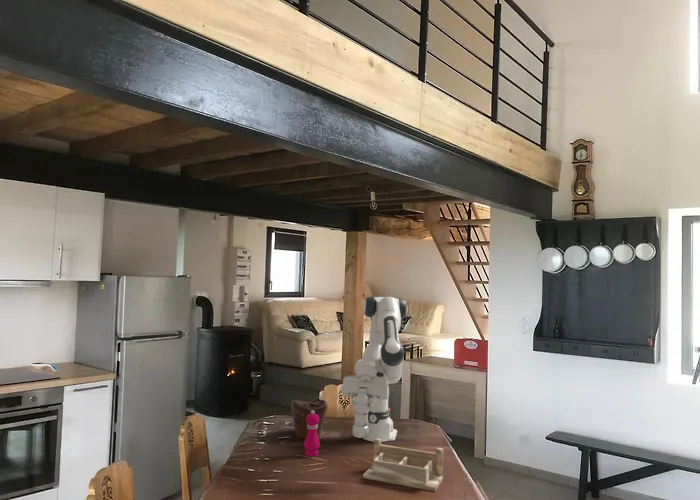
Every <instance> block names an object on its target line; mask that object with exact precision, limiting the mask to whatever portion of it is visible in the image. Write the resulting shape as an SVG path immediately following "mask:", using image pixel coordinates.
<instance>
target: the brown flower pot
mask: <svg viewBox="0 0 700 500" xmlns="http://www.w3.org/2000/svg"><path fill="white" fill-rule="evenodd" d="M290 408H291V410H290V411H291V415H292V421H293V426H294V432H295V433H294V434H295V436H296V437H298V438H303V439H306V437H307V434H308V428H307V424H308V423H307V422H306V417H307V415H309V414H311V411H312V410H314V411H315V413H314V414H317V415H318V417H319V422H318V423H317V424H318V428H317V436H318V437H320V436H321V434H322V430H323V425H324V421H325V417H326V413H327V410H328V404H327V401H326V400H325V399H320V398H317V399H315V400H309V401H307V400H305V401H303V400H295V399H292V401H291V407H290Z"/></svg>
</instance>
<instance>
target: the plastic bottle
mask: <svg viewBox="0 0 700 500" xmlns="http://www.w3.org/2000/svg"><path fill="white" fill-rule="evenodd" d="M353 400H354V406H353V407H354V419H353V424H352V429H351V431H352V436H353V437H355V438H359V439H361V438H362V439H363V438H364V437H367V435H368V432H369V430H368V410H369V402H370V399H369V397H368V395H367V388H366V387H358V394H357V396H356V397H354V398H353Z"/></svg>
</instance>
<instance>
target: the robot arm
mask: <svg viewBox="0 0 700 500" xmlns="http://www.w3.org/2000/svg"><path fill="white" fill-rule="evenodd" d="M362 309H363V313H364V315H365V316H366V317H367V318H371V322H370V329H369V339H368V341H369V342H368V345H366V346H365V348H364V351H363V354H362V357H361V358H360V359H358V360H357V361H356V363H355V365H354V373H355V375H346V376H344V377H343V379H342V385H341V388H340V394H341V395H342V396H344V397H349V398H350V406H353V407H355V406H354V399H355V397H356V396H357V394H358V387H366V388H367V395H368V397H369V399H370V402H369V410H368V430H369V432H368V435H367V437H364V438H362V439H363V440H364V441H365V440H366V441H369V442H372V443H374V439H381V443H383V442H391V441H395V440H396V438H397V434H398V430H397V429H395V428H394V421H393V420H392V419H391V416H390V412H391V408H390V407H389V396H390V387H389V385H390V384H391V385H392V384H397V383H398V382H399V381H400V379H401V378H402V373H403V371H402V370H403V362H404V356H405V348H404V346H403V344H402V342H401V341H400V336H399V334H400V333H399V331H400V330H401V324H402V320H403V319H404V318H405V317H406V316H407V313H408V304H407V302H406V299H405V300H404V299H402V298H396V297H393V296H367V297H366V298H365V300H364V302H363V305H362Z"/></svg>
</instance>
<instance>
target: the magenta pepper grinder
mask: <svg viewBox="0 0 700 500" xmlns="http://www.w3.org/2000/svg"><path fill="white" fill-rule="evenodd" d="M314 413H315V411H314V410H312V411H311V414H309V415H307V417H306V422H307V423H308V424H307V428H308V434H307V437H306V438H304V443H303V447H304V448H305V449H304V455H305V456H306V457H318V456H319V452H320V451H319V448H320V443H321V441H320V439H319V436H317V428H318V424H317V423H318V422H319V417H318V415H317V414H314Z"/></svg>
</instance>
